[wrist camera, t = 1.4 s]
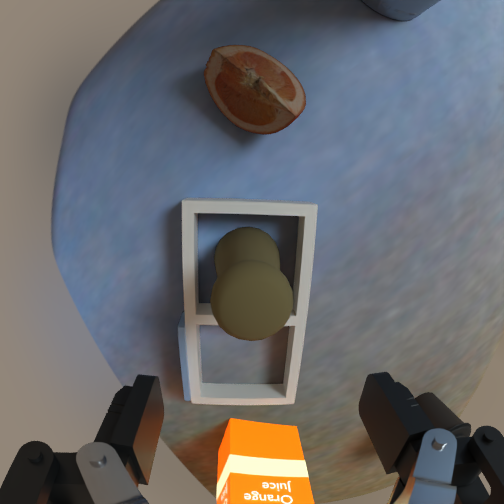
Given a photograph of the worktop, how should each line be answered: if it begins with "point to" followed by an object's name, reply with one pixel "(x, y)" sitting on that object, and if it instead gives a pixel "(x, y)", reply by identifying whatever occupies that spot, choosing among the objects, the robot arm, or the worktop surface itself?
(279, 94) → the fruit slice
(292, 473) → the orange juice
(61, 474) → the robot arm
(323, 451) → the worktop surface
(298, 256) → the white flat rectangular frame
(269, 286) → the olive rounded piece
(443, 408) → the coffee cup
